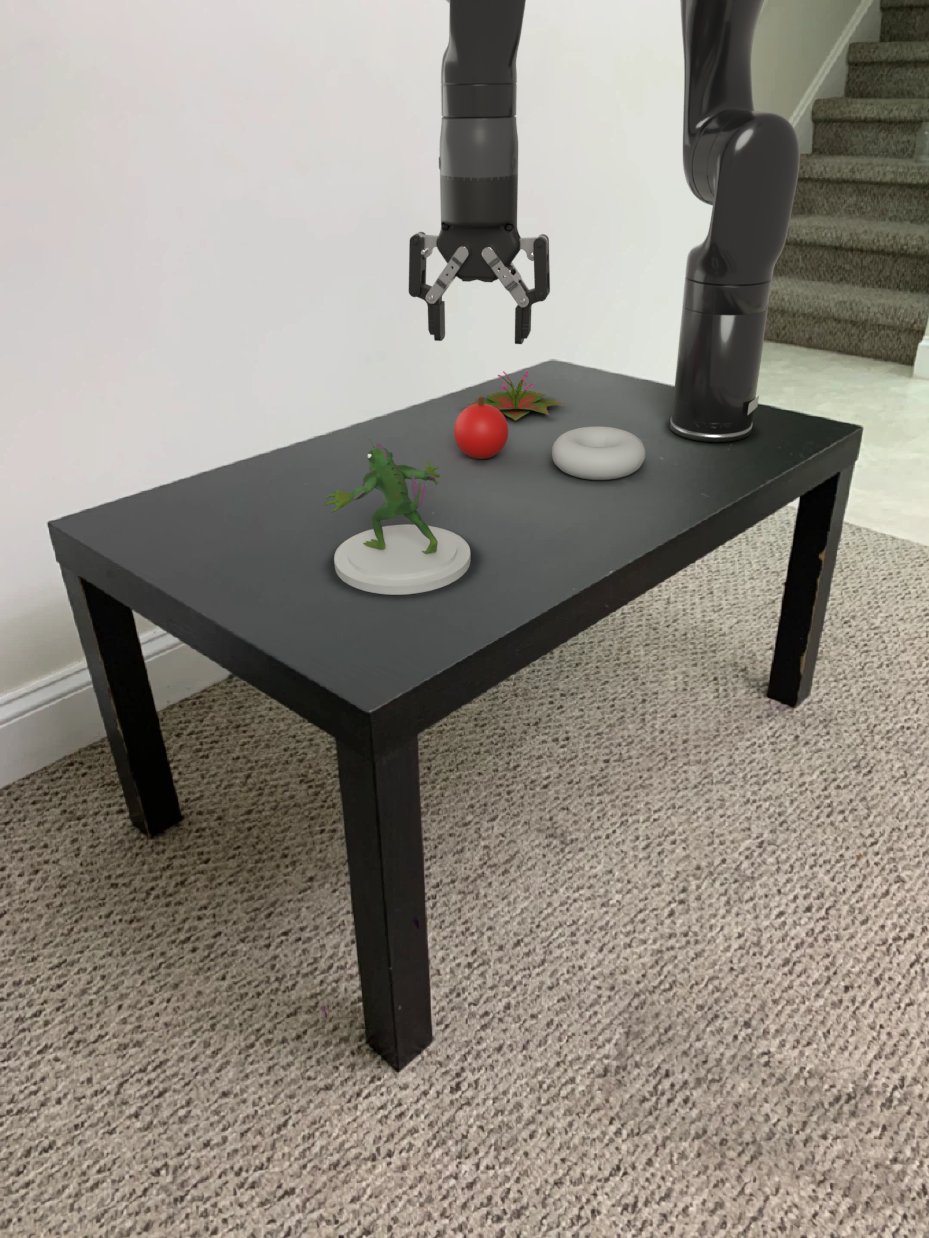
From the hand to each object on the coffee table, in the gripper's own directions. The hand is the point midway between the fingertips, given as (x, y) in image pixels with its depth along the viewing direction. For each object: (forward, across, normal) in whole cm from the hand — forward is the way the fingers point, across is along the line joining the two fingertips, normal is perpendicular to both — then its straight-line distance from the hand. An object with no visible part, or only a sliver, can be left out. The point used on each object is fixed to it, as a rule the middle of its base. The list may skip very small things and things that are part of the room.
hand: (479, 341), depth 98 cm
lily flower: (+13, -1, -17) cm, 21 cm away
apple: (+13, 0, 0) cm, 13 cm away
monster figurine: (+13, +2, +26) cm, 29 cm away
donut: (+13, -13, +1) cm, 18 cm away
